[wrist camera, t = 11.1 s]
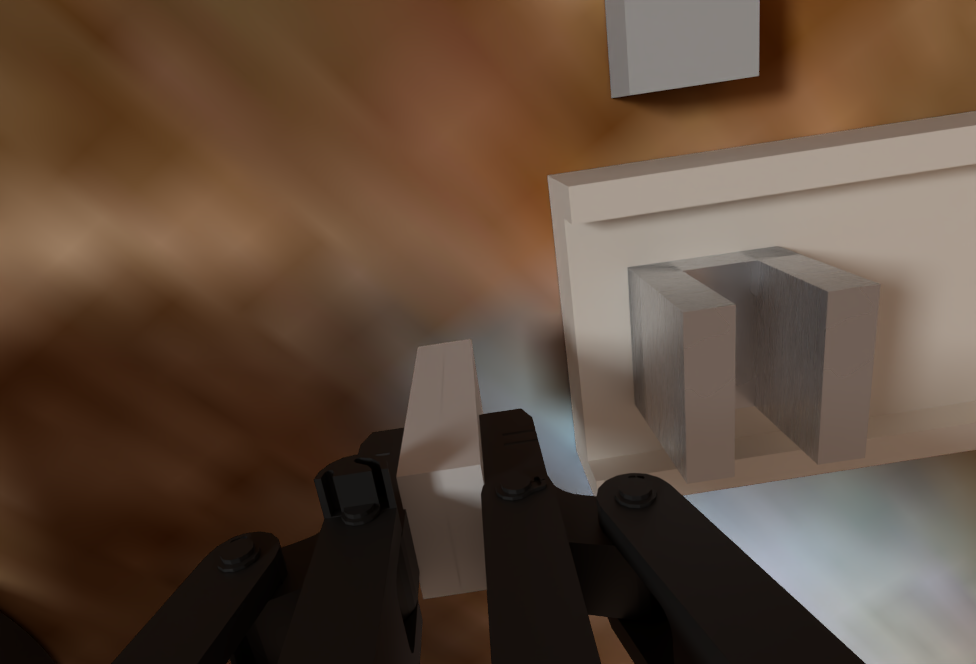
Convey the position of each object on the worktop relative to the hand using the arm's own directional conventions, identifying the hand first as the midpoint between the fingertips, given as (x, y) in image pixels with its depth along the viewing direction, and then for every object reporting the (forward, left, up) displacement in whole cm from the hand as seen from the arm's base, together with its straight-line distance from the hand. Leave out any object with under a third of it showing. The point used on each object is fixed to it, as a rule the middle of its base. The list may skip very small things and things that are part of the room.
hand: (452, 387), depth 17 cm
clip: (+8, 0, -2) cm, 8 cm away
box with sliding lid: (+15, 0, -4) cm, 16 cm away
